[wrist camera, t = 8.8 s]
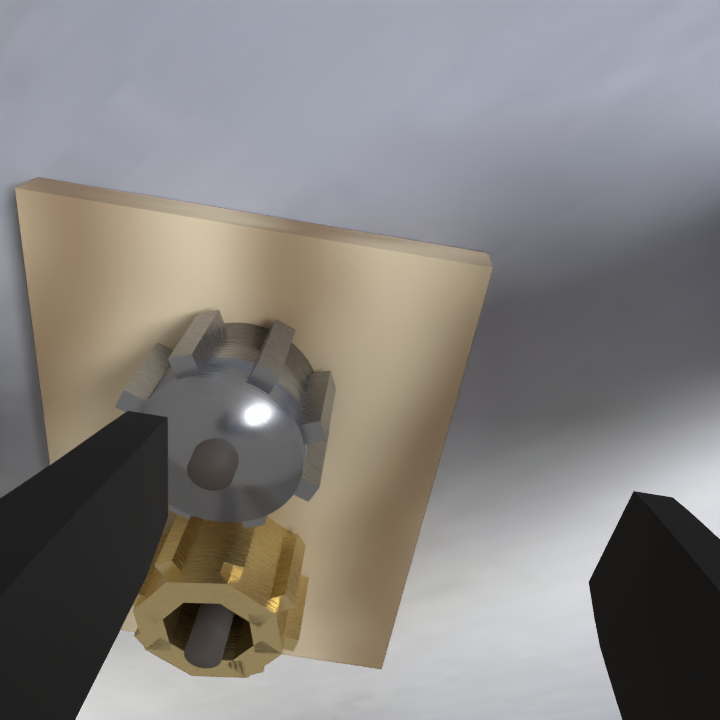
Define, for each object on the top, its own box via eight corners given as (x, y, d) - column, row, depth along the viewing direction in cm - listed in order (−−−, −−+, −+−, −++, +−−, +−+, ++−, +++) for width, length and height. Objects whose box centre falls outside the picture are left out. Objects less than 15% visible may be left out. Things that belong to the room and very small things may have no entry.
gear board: (487, 252, 18) (516, 335, 13) (382, 643, 27) (378, 772, 22) (37, 177, 17) (-90, 235, 13) (83, 598, 26) (17, 719, 22)
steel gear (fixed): (346, 323, 18) (335, 386, 15) (322, 471, 21) (309, 549, 18) (154, 292, 18) (104, 348, 15) (156, 445, 20) (115, 518, 18)
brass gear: (314, 604, 24) (302, 688, 21) (173, 601, 24) (142, 683, 21) (302, 495, 21) (286, 573, 18) (144, 492, 22) (103, 569, 19)
